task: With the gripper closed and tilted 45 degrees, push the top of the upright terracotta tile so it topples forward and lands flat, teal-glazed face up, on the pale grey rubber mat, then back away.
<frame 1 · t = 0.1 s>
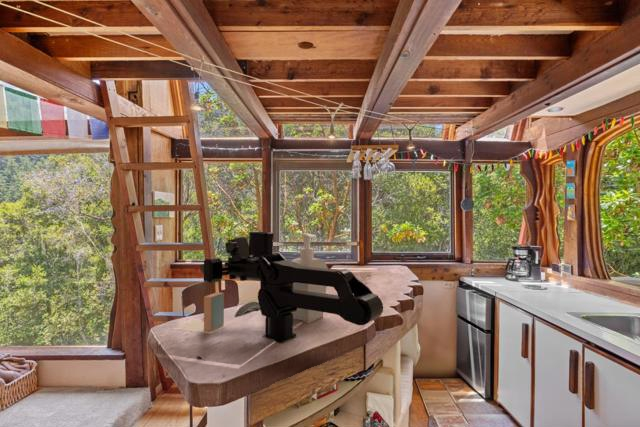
hand: (213, 265, 109), 17 cm above the counter, tool horizontal, fingers open, 9 cm apart
ceramic fragment: (247, 315, 119), on the counter
soap bottle: (304, 318, 114), on the counter
tile: (214, 327, 101), point 1 cm above the counter, touching mat
mat: (201, 328, 102), on the counter
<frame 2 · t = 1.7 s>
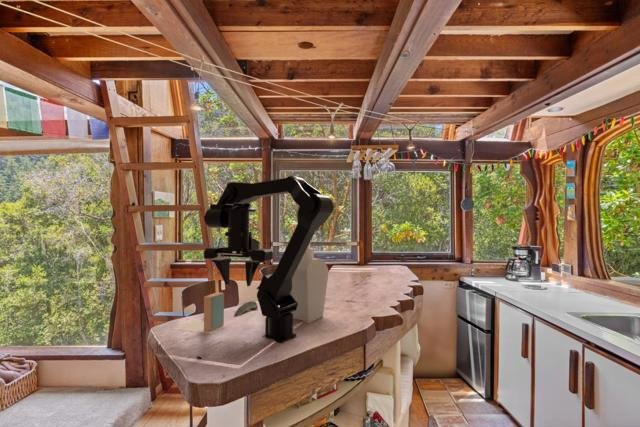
hand: (237, 285, 102), 12 cm above the counter, tool pointing down, fingers open, 6 cm apart
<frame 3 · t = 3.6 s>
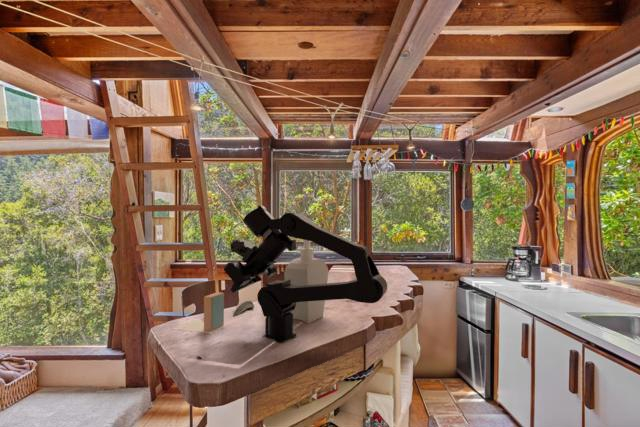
hand: (232, 291, 100), 11 cm above the counter, tool tilted 45°, fingers closed
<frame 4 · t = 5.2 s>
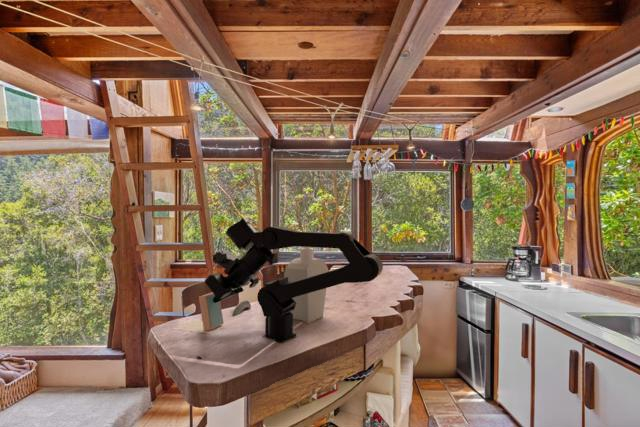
hand: (214, 301, 101), 8 cm above the counter, tool tilted 45°, fingers closed
tile: (213, 327, 101), point 1 cm above the counter, tilted 11°, touching mat
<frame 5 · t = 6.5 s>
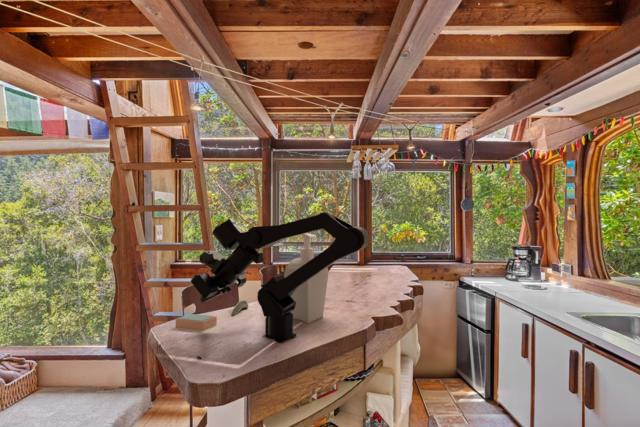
hand: (202, 301, 102), 8 cm above the counter, tool tilted 45°, fingers closed
tile: (210, 323, 102), point 2 cm above the counter, tilted 90°, touching mat
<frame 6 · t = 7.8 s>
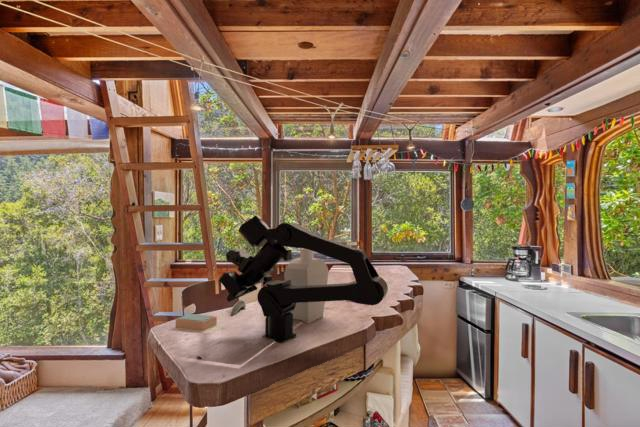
hand: (228, 300, 100), 8 cm above the counter, tool tilted 45°, fingers closed
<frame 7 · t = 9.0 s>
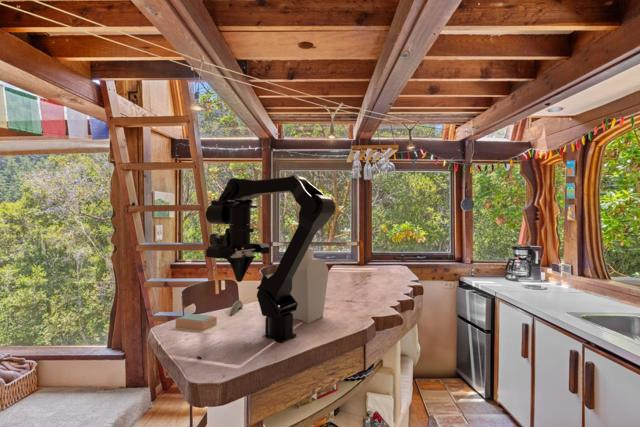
hand: (239, 281, 102), 13 cm above the counter, tool pointing down, fingers closed
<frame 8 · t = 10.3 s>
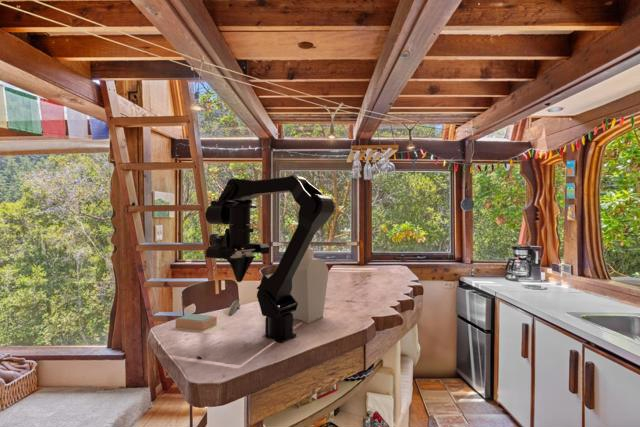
hand: (239, 282, 102), 13 cm above the counter, tool pointing down, fingers closed
at the end: tile tilted 90°; tile inside the target area on the mat (2.8 cm from its centre), point 1.7 cm above the mat's base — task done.
